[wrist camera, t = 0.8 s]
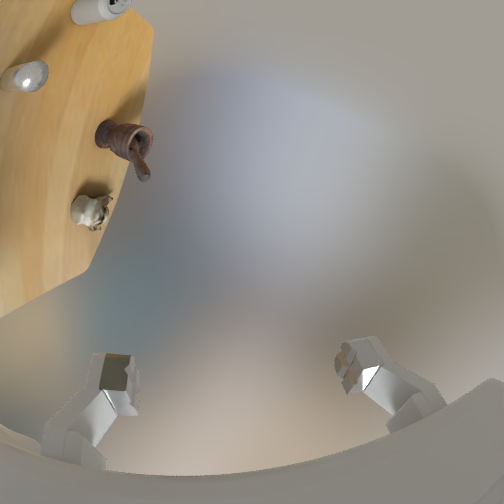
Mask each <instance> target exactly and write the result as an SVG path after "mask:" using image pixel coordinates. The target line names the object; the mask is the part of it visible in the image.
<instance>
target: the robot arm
mask: <svg viewBox="0 0 504 504" xmlns="http://www.w3.org/2000/svg"><path fill="white" fill-rule="evenodd" d="M340 348H341V351H340V352H339V353H338V354H337V355H336V357H335V360H334V361H335V363H334V366H335V370H336V372H337V375H338V376H340V377H342V378H343V379H342V385H343V387H344V389H345V392H346V394H347V395H349V394H354V393H358V392H362V391H364V393H365V394H367V395H368V396H369V397H370V398H372V399H373V400H374V401H376V402H377V403H378V404H379V405H380V406H382V407H383V408H384V409H385V410H387V411H388V412H389V413H390V414H392V415H393V416H392V417H391V418H390V419H389V420H388V421H387V423H386V426H387V428H388V430H389V432H390V434H388V435H386V436H384V437H381V438H378V439H376V440H374V441H371V442H368V443H365V444H363V445H360V446H357V447H354V448H351V449H348V450H345V451H342V452H339V453H335V454H332V455H328V456H325V457H321V458H318V459H314V460H309V461H305V462H301V463H297V464H292V465H287V466H282V467H276V468H271V469H265V470H258V471H251V472H242V473H233V474H222V475H204V476H162V475H144V474H132V473H124V472H116V471H109V470H106V458H105V456H104V455H103V454H101V453H100V452H99V451H98V450H97V449H96V448H95V446H96V445H97V443H98V442H99V441H100V439H101V438H102V436H103V435H104V434H105V432H106V431H107V429H108V428H109V427H110V425H111V424H112V422H113V421H114V420H115V418H116V417H117V414H119V415H138V408H139V400H138V397H137V395H136V394H137V393H138V392H139V391H140V377H139V372H138V369H137V368H136V367H135V360H134V357H133V356H132V355H119V354H107V353H94V354H93V356H92V360H91V364H90V368H89V372H88V377H87V382H86V386H85V388H81V389H80V390H79V391H78V392H77V393H76V394H75V395H74V396H73V397H72V398H71V399H70V400H69V401H68V402H67V403H66V404H65V405H64V406H63V407H62V408H61V409H60V410H59V411H58V412H57V413H56V414H55V415H54V416H53V417H52V418H51V419H50V420H49V421H48V422H47V423H46V424H45V429H44V434H43V440H42V446H40V444H38V443H37V442H36V441H35V440H33V439H32V438H30V437H26V436H24V435H21V434H18V433H16V432H13V431H11V430H10V429H8V428H6V427H4V426H3V425H1V424H0V504H504V382H502V381H499V380H497V379H494V378H489V379H487V380H486V381H484V382H483V383H482V384H480V385H479V386H477V387H476V388H474V389H473V390H471V391H470V392H468V393H467V394H465V395H463V396H462V397H460V398H459V399H457V400H455V401H454V402H452V403H450V404H449V405H447V404H446V402H445V400H444V399H443V397H442V396H441V394H440V393H439V391H438V389H437V388H436V386H435V385H434V384H433V383H431V382H429V381H427V380H426V379H424V378H422V377H420V376H419V375H417V374H416V373H414V372H412V371H410V370H409V369H407V368H405V367H404V366H402V365H400V364H398V363H397V362H393V361H392V360H391V358H390V357H389V355H388V354H387V352H386V350H385V349H384V347H383V346H382V344H381V343H380V341H379V340H378V338H377V337H376V336H371V337H366V338H359V339H355V340H349V341H344V342H343V343H342V345H341V346H340Z"/></svg>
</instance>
